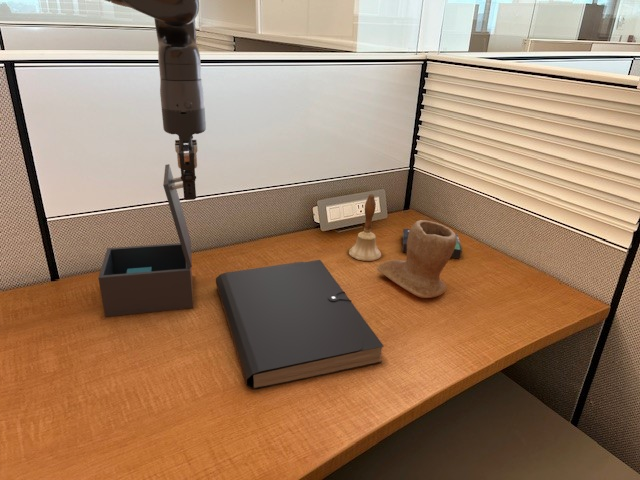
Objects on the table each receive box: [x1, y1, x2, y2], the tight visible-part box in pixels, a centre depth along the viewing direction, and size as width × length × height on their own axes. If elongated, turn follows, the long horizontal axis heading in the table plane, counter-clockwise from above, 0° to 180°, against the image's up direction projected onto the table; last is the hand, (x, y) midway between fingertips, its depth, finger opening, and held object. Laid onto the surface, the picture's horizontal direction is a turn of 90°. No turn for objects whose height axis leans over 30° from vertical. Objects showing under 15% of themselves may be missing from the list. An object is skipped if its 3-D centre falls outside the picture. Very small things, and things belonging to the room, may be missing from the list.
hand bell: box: [348, 194, 382, 262], centre depth 119 cm, size 8×8×16 cm
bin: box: [97, 242, 194, 318], centre depth 99 cm, size 17×13×9 cm
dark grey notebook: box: [215, 259, 384, 390], centre depth 93 cm, size 33×4×24 cm
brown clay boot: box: [376, 219, 457, 299], centre depth 106 cm, size 15×12×15 cm
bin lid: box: [162, 164, 193, 269], centre depth 95 cm, size 17×13×5 cm
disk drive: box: [402, 228, 463, 259], centre depth 127 cm, size 10×3×15 cm
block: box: [127, 267, 152, 273], centre depth 99 cm, size 5×5×5 cm
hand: (190, 193), depth 93 cm, fingers closed on bin lid, 5 cm apart
